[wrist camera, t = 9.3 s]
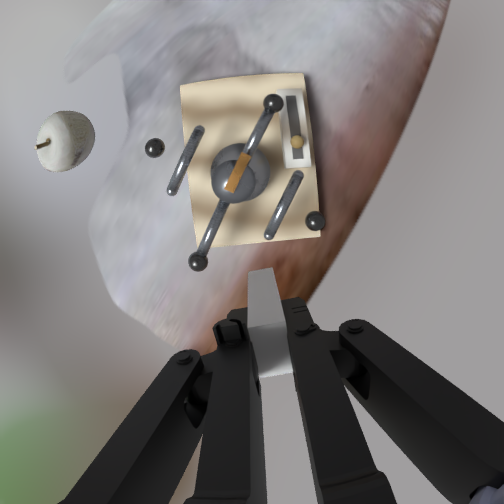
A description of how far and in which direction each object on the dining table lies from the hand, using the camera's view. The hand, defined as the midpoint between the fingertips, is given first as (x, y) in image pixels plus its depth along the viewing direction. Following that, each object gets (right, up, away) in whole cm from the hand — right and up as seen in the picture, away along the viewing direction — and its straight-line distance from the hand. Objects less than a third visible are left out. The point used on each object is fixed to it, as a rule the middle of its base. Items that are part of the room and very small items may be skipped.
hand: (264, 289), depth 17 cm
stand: (-1, +15, +17) cm, 22 cm away
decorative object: (-27, +19, +16) cm, 36 cm away
